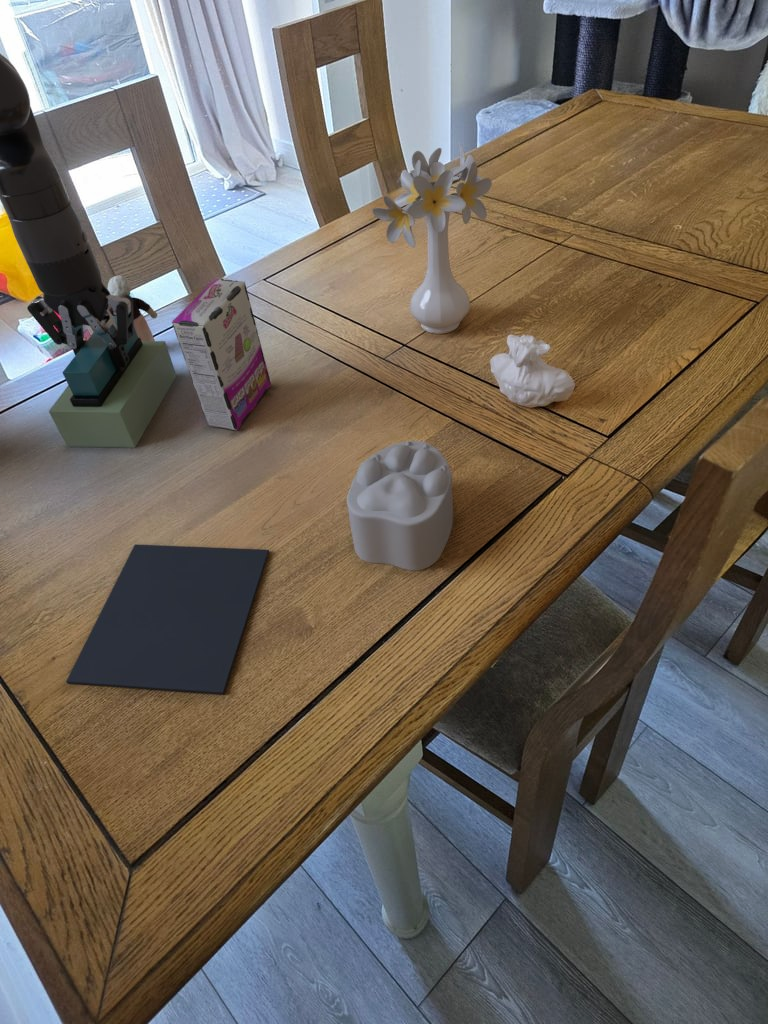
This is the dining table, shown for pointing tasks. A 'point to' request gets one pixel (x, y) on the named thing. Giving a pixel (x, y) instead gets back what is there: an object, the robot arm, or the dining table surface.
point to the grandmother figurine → (120, 289)
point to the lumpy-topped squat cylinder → (402, 506)
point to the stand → (119, 403)
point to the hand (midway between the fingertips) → (107, 367)
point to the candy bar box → (223, 353)
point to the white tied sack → (530, 374)
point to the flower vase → (436, 232)
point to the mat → (173, 620)
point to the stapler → (96, 371)
